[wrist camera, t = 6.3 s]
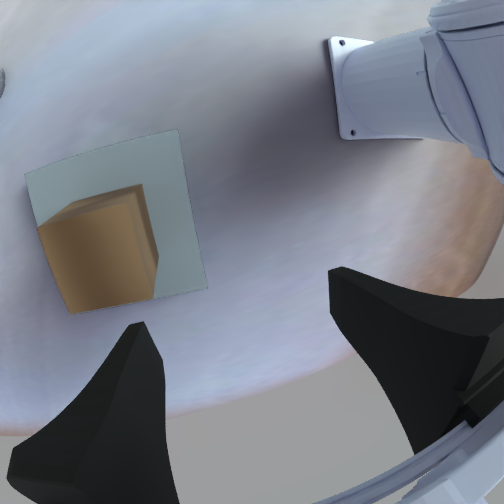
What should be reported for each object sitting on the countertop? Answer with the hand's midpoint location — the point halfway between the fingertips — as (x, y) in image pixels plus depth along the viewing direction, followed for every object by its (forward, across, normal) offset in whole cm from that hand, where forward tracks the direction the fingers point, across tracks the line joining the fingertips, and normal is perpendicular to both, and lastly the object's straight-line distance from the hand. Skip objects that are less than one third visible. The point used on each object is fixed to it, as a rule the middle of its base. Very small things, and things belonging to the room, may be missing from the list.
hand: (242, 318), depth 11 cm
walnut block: (+8, +6, -3) cm, 10 cm away
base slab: (+11, +6, -2) cm, 13 cm away
